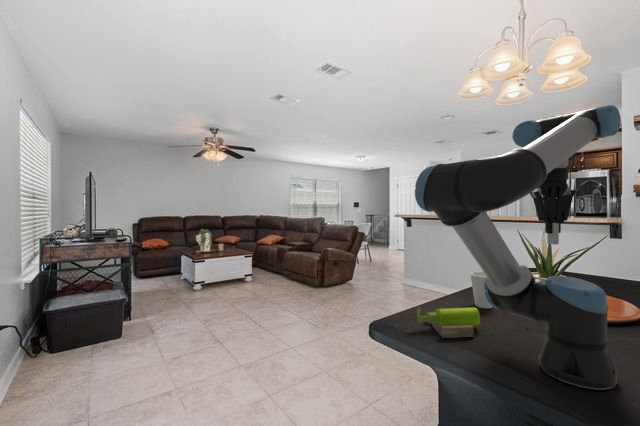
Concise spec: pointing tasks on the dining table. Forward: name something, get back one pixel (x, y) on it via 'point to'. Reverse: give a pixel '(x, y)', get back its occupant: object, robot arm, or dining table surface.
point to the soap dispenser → (451, 316)
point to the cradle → (457, 329)
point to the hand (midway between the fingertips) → (553, 243)
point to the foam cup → (479, 289)
